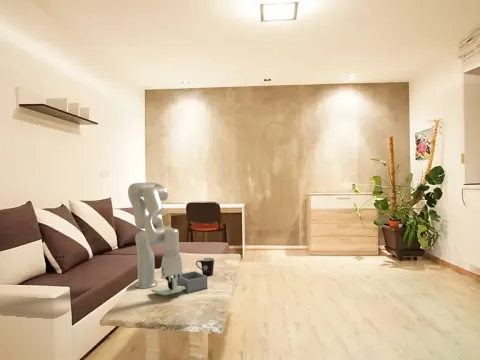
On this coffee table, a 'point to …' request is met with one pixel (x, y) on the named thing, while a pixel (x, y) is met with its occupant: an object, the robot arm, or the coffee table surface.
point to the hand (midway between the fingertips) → (172, 288)
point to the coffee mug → (207, 266)
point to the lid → (168, 291)
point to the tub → (192, 282)
